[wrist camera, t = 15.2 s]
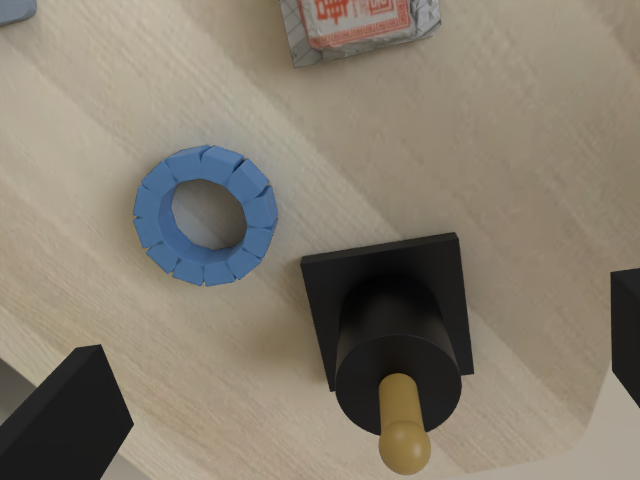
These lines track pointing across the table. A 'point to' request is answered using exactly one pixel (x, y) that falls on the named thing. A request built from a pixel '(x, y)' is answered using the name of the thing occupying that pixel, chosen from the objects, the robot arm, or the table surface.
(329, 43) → the packaged product
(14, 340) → the table surface
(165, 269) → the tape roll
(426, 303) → the tape holder
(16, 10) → the shower valve
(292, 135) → the table surface
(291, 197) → the table surface
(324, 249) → the table surface
